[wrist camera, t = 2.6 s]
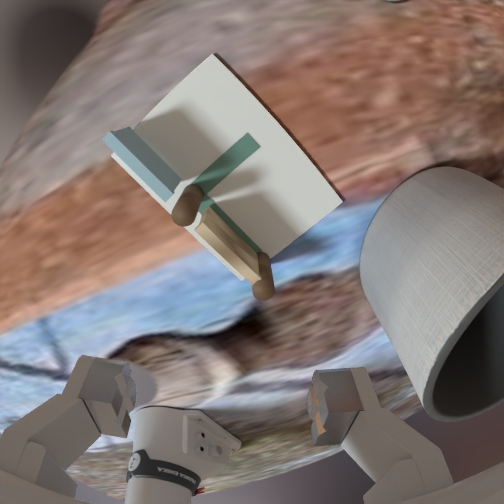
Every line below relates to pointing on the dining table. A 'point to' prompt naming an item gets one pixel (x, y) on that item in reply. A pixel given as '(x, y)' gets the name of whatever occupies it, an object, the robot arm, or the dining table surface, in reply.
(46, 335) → the dining table surface
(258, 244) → the card
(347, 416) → the robot arm
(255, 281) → the pine fence section
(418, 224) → the planter
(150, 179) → the light blue rectangular panel
